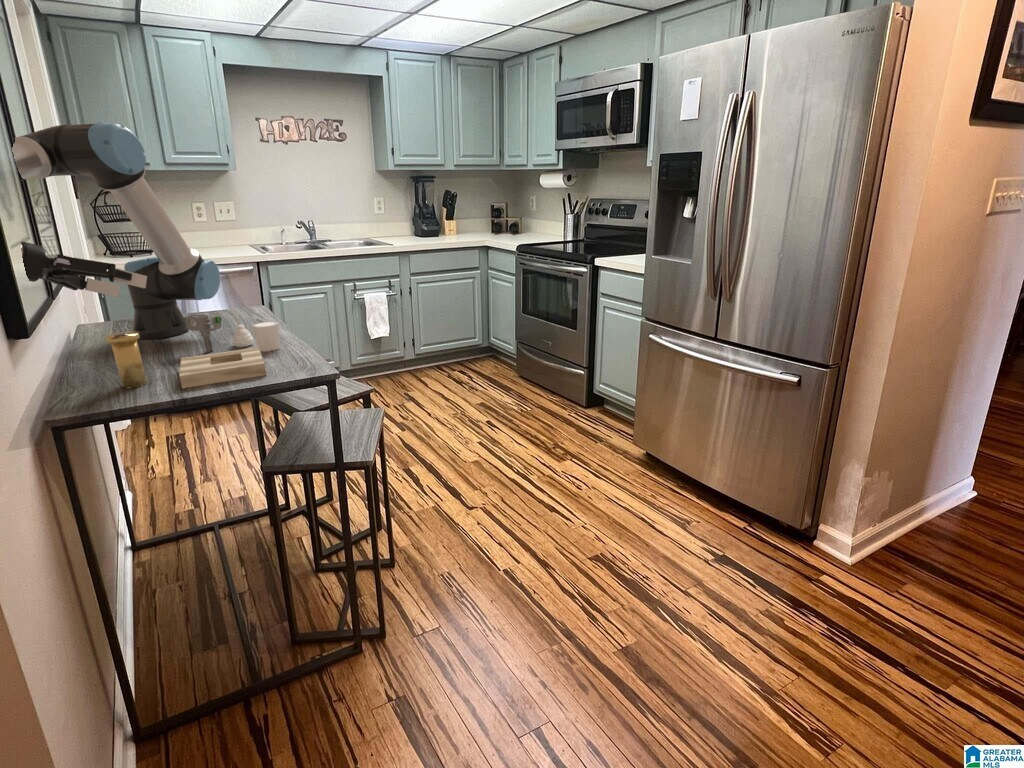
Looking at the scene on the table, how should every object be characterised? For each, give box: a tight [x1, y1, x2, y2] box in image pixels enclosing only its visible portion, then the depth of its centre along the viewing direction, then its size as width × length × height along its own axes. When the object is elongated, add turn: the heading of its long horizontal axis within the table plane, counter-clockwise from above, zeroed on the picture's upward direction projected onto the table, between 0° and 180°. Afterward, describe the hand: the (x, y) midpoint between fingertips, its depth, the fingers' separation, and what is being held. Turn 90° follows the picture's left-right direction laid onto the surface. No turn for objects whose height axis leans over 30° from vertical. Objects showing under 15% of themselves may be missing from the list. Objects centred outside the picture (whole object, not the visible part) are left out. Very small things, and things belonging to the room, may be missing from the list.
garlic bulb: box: [232, 324, 255, 348], centre depth 169 cm, size 6×6×5 cm
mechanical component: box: [184, 314, 222, 353], centre depth 162 cm, size 3×10×10 cm, turn 79°
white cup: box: [251, 321, 281, 352], centre depth 164 cm, size 7×7×7 cm
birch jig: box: [178, 346, 267, 389], centre depth 145 cm, size 16×18×3 cm
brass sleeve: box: [105, 330, 148, 389], centre depth 137 cm, size 6×6×12 cm
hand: (131, 287), depth 136 cm, fingers open, 13 cm apart
